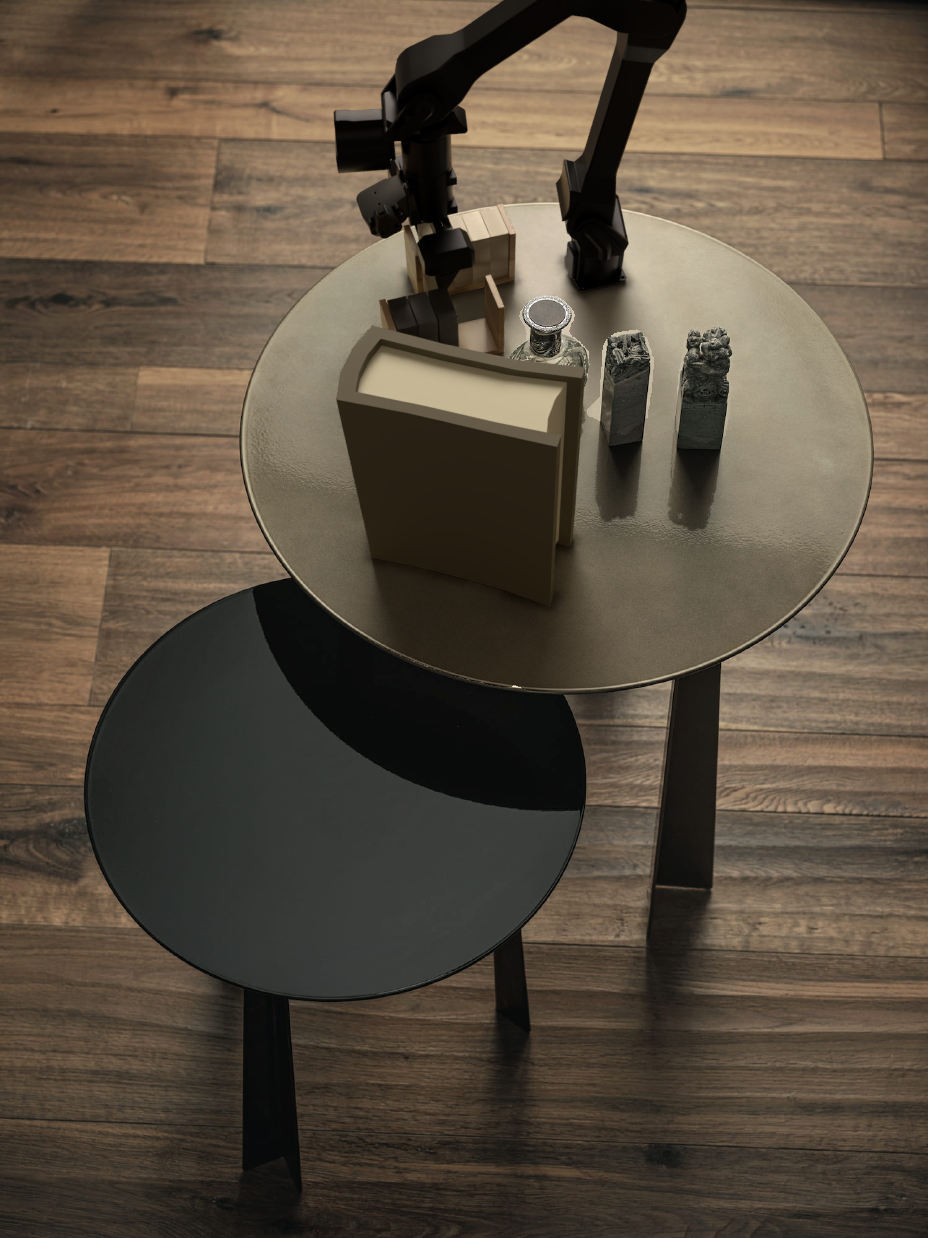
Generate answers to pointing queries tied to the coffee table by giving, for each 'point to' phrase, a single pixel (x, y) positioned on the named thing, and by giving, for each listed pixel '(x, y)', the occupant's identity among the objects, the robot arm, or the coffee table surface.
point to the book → (463, 458)
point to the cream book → (431, 282)
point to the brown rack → (490, 244)
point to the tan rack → (447, 319)
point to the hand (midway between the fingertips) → (433, 264)
